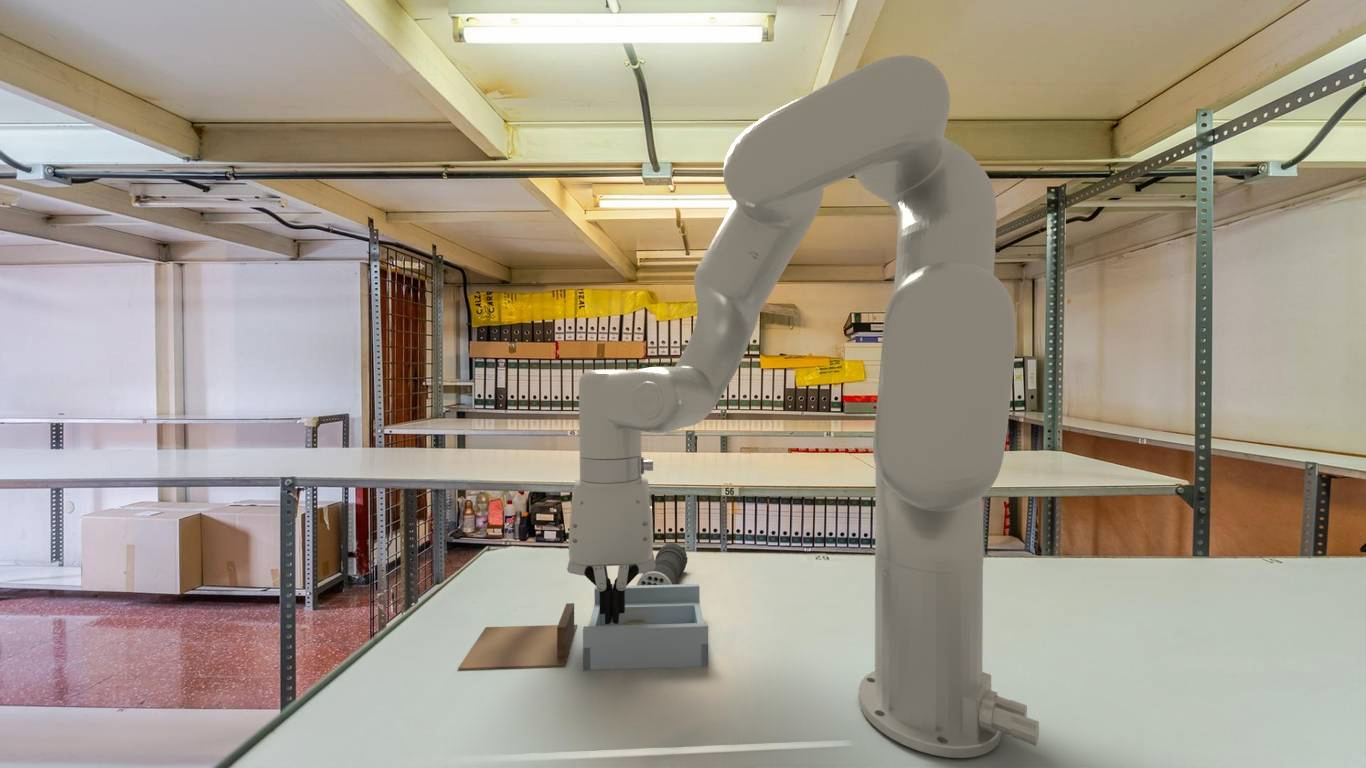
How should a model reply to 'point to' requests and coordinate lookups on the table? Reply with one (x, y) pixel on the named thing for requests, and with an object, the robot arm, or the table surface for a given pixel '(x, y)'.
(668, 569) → the flashlight
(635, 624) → the brass disc
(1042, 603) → the table surface
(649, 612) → the light grey open box
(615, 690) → the table surface
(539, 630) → the cover plate
